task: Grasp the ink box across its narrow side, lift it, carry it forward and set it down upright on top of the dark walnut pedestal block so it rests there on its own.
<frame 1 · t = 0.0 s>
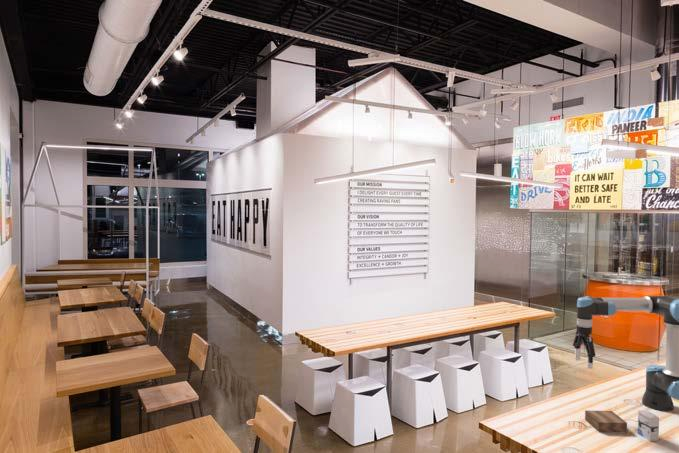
hand: (583, 364, 254), 28 cm above the table, fingers open, 13 cm apart
ink box: (647, 437, 230), on the table
walnut pedestal: (605, 425, 241), on the table
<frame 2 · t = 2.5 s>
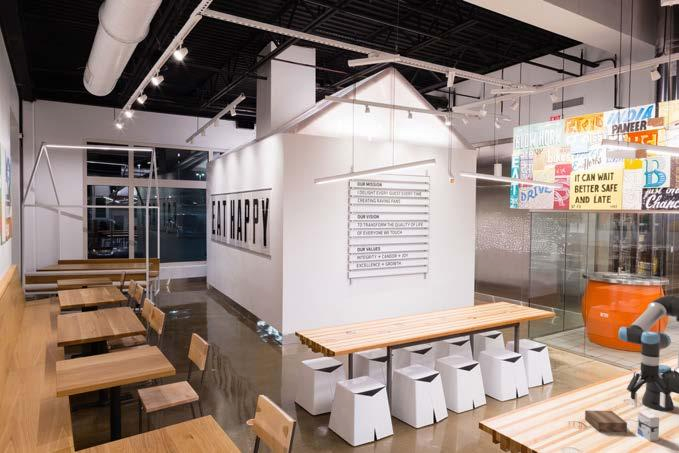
hand: (648, 405, 229), 16 cm above the table, fingers open, 13 cm apart
nothing on the table moved.
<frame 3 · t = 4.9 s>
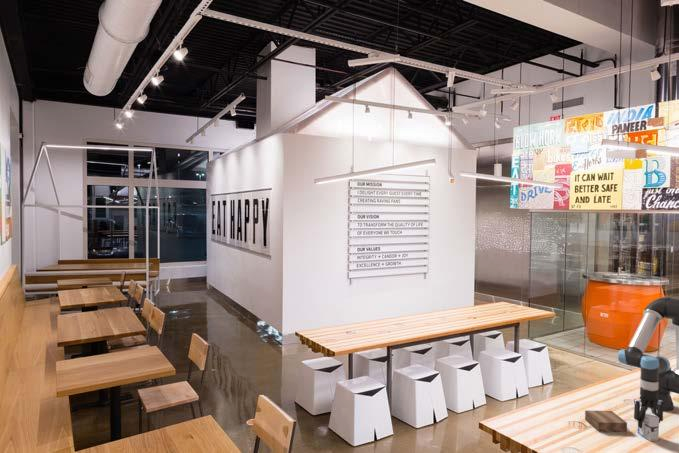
hand: (647, 434, 230), 1 cm above the table, fingers closed on ink box, 5 cm apart
ink box: (647, 437, 230), on the table, touching gripper
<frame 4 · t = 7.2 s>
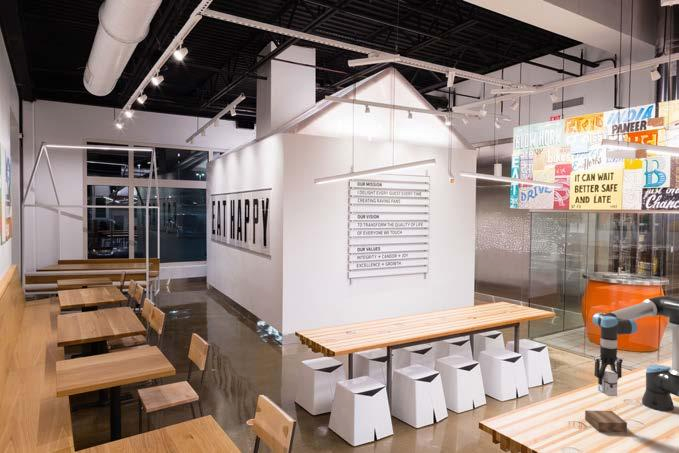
hand: (607, 390, 240), 19 cm above the table, fingers closed on ink box, 5 cm apart
ink box: (607, 393, 240), point 17 cm above the table, touching gripper
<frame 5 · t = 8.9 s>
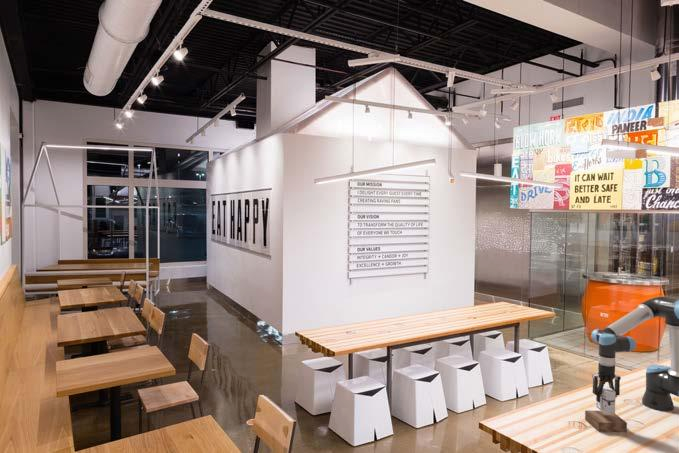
hand: (605, 407, 241), 10 cm above the table, fingers closed on ink box, 5 cm apart
ink box: (605, 410, 241), point 8 cm above the table, touching gripper
when the fingers open (8 cm above the table, at t = 10.0 s): ink box drops 1 cm, resting on walnut pedestal.
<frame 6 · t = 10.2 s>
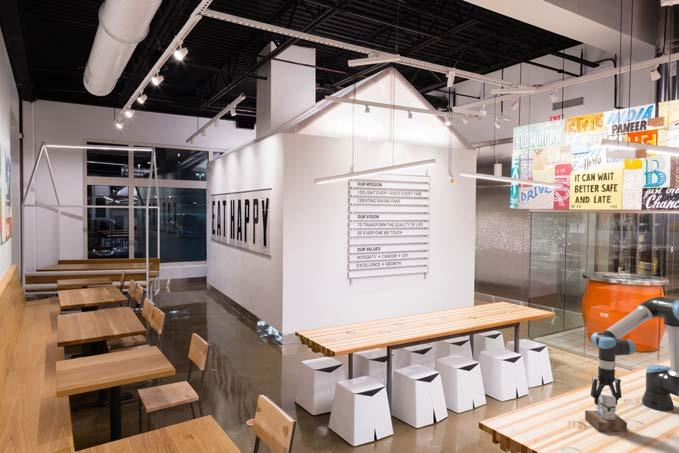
hand: (605, 410, 241), 8 cm above the table, fingers open, 7 cm apart
ink box: (605, 416, 241), point 5 cm above the table, touching walnut pedestal
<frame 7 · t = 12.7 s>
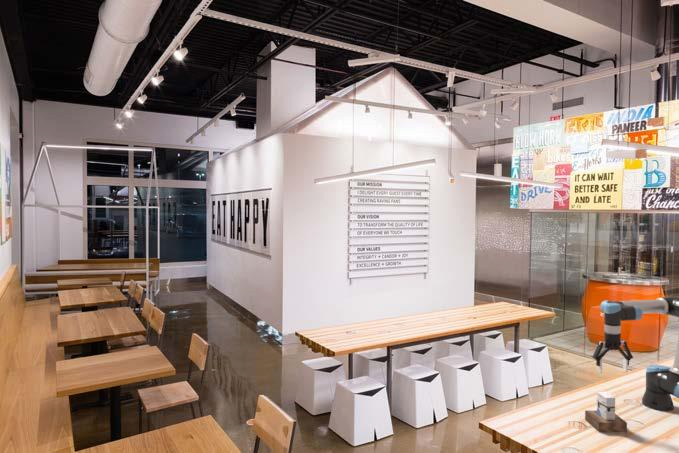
hand: (612, 371, 247), 27 cm above the table, fingers open, 13 cm apart
nothing on the table moved.
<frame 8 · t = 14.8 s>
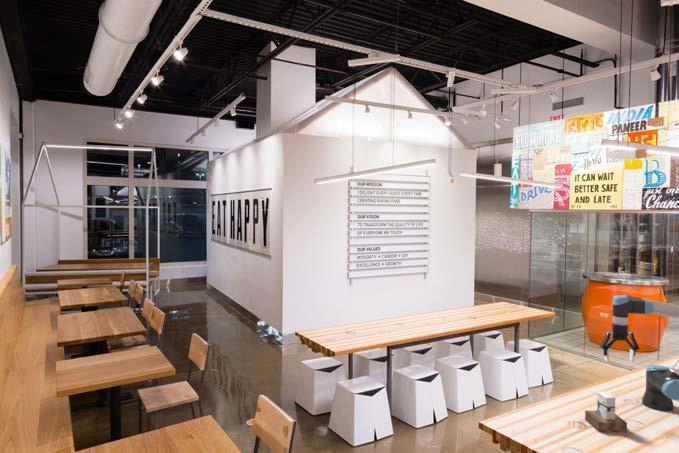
hand: (619, 361, 257), 29 cm above the table, fingers open, 13 cm apart
nothing on the table moved.
at the end: ink box inside the target area on the walnut pedestal (0.1 cm from its centre), point 4.8 cm above the walnut pedestal's base; ink box tilted 0°; the gripper is holding nothing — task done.
